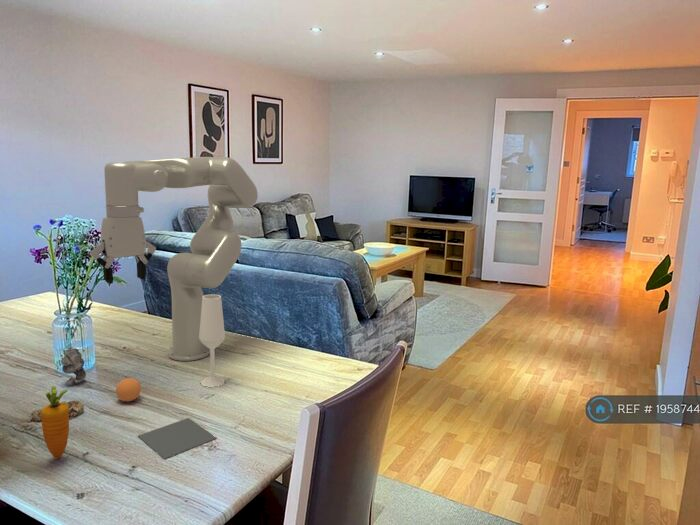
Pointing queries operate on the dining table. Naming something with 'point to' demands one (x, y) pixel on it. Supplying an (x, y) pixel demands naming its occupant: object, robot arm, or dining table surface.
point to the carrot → (55, 423)
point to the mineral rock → (74, 410)
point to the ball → (128, 389)
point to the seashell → (73, 365)
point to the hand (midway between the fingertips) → (125, 280)
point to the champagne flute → (212, 332)
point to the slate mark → (176, 438)
